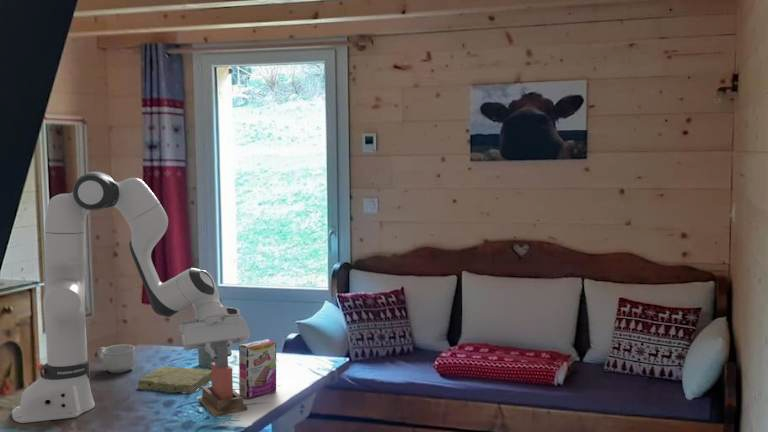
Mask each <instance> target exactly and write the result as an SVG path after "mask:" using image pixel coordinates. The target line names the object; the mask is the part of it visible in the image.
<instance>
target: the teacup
mask: <svg viewBox="0 0 768 432" xmlns="http://www.w3.org/2000/svg"><path fill="white" fill-rule="evenodd" d="M135 349H136V347H135V345H133V344H124V343H123V344H114V345H110V346H107V347H105V346H102V347H100V348H98V351H97V355H98V356H99V358H100V360H102V361H103V363H102V364H103V366H104V368H105V370H107V371H108V372H110V373H111V374H122V373H125V372H128V371H129V370H131V369H132V368H133V366H134V365H135V363H136V361H135V360H136V353H135V351H136V350H135Z"/></svg>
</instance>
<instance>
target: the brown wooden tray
mask: <svg viewBox="0 0 768 432" xmlns="http://www.w3.org/2000/svg"><path fill="white" fill-rule="evenodd" d="M197 400H199V401H200V402H201V403H202V404H203V405H204V406H205V407H206V408H205V407H204V406H203V405H202V404H201V403H200V402H199V401H198V402H199V403H200V404H201V405H202V406H203V407H204V408H205V409H206V410H207V411H208V412H210V414H211V415H212V416H213V417H218V416H224V415H229V414H235V413H239V412H245V411H248V406H247V405H246V404H245V403H244V397H242V396H240V395H239V393H238V392H237V391H235V390H234V389H233V398H230V399H225V400H220V399H219V398H218V397H217V396H216V395H215V394H214V393H213V392H212V385H209V386H203V387H201V396H200V397H198V399H197Z"/></svg>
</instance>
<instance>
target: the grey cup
mask: <svg viewBox="0 0 768 432" xmlns="http://www.w3.org/2000/svg"><path fill="white" fill-rule="evenodd" d="M210 348H211V349H212V350H213V351H215V347H214V346H213V347H210ZM197 354H198V357H197V358H198V359H197V360H198V366H200V367H201V366H204V367H203V368H211V363H214V362H215V359H211V355H210V354H209V353H208V352H207V351H205V348H199V349H197Z"/></svg>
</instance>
